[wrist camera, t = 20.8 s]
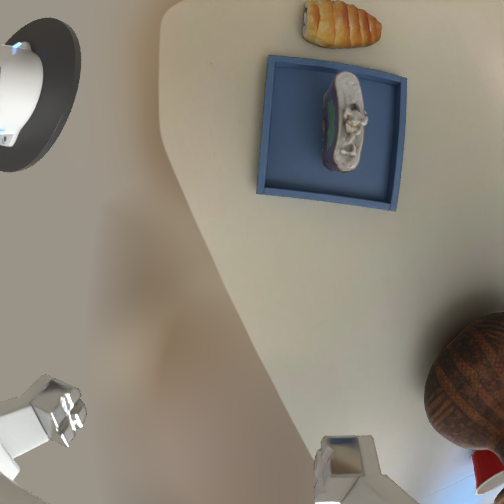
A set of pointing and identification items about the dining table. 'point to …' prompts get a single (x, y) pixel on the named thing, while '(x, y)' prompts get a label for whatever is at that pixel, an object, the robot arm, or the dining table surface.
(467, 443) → the jug
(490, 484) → the plastic cup
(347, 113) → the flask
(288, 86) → the blue tray
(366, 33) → the pastry
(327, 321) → the dining table surface
